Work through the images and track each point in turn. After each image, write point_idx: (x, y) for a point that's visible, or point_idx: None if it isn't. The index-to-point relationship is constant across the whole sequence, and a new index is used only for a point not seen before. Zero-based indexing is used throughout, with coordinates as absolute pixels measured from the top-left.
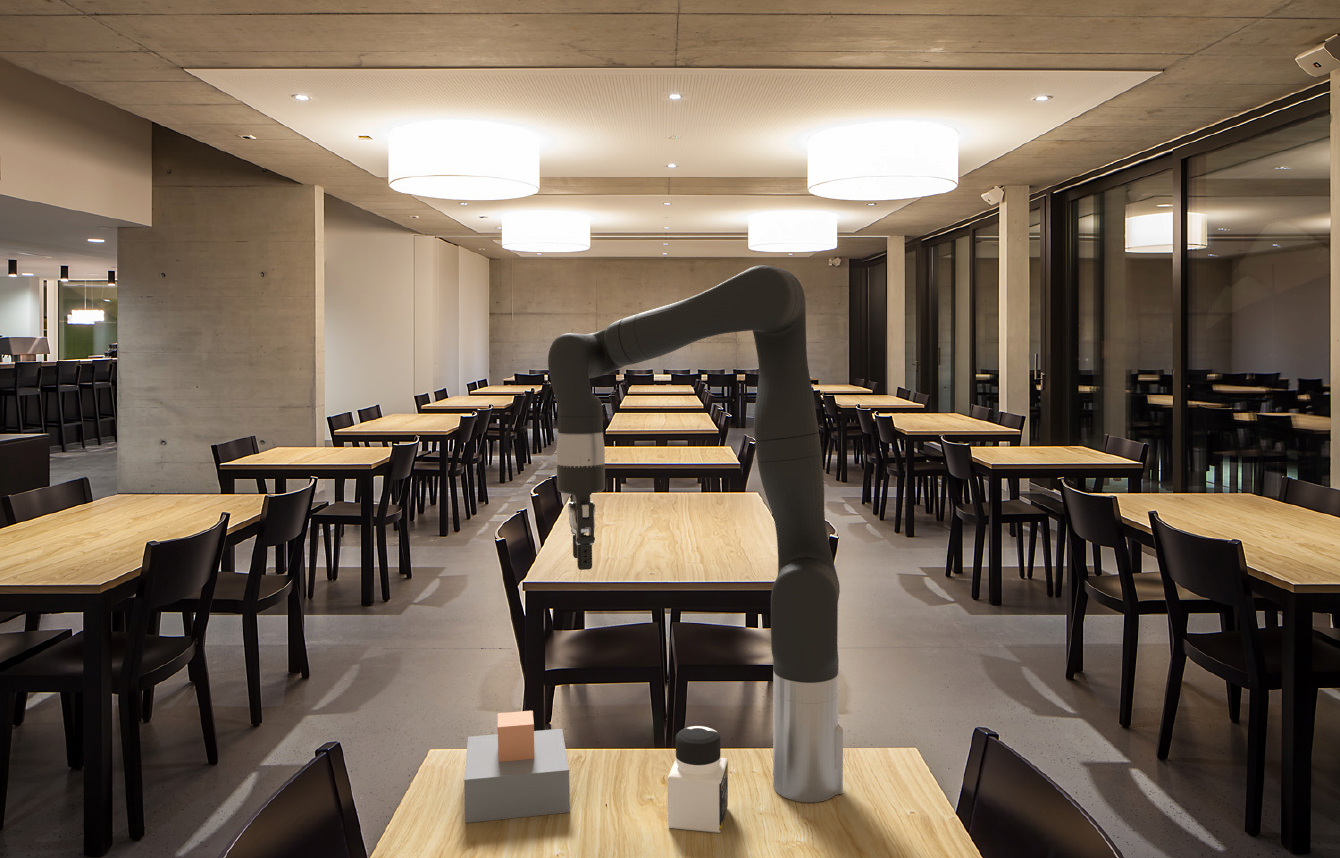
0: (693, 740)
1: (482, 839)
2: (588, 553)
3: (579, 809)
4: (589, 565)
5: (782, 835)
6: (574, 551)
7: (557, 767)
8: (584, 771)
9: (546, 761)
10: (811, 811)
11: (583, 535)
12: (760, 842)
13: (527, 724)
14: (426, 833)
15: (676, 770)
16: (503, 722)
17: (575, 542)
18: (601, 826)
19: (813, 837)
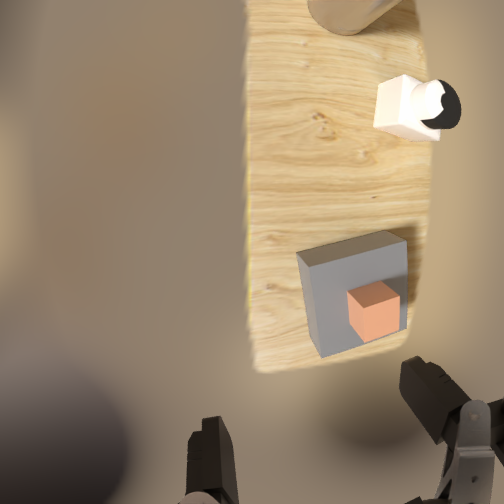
0: (459, 112)
1: (410, 290)
2: (458, 390)
3: (380, 221)
4: (433, 364)
5: (412, 54)
6: (233, 458)
7: (400, 253)
8: (306, 227)
9: (388, 267)
10: (377, 20)
11: (227, 492)
12: (422, 73)
13: (399, 302)
14: None
15: (433, 130)
16: (389, 328)
17: (235, 483)
18: (406, 199)
19: (412, 34)
